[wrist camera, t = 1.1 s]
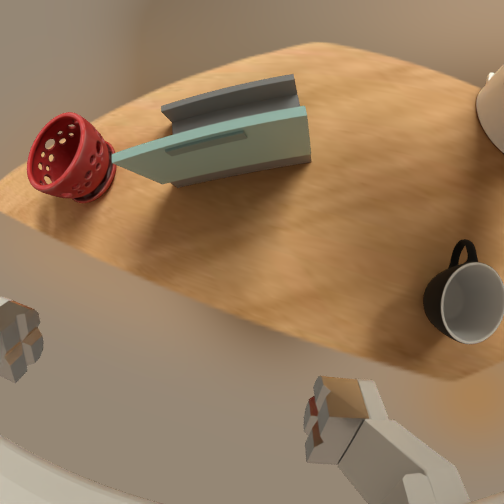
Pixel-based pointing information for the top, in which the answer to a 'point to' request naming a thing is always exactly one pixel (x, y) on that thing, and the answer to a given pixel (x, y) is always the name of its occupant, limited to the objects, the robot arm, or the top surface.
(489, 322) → the mug
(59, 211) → the top surface
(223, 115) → the grey rectangular box
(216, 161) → the lid
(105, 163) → the plant pot
